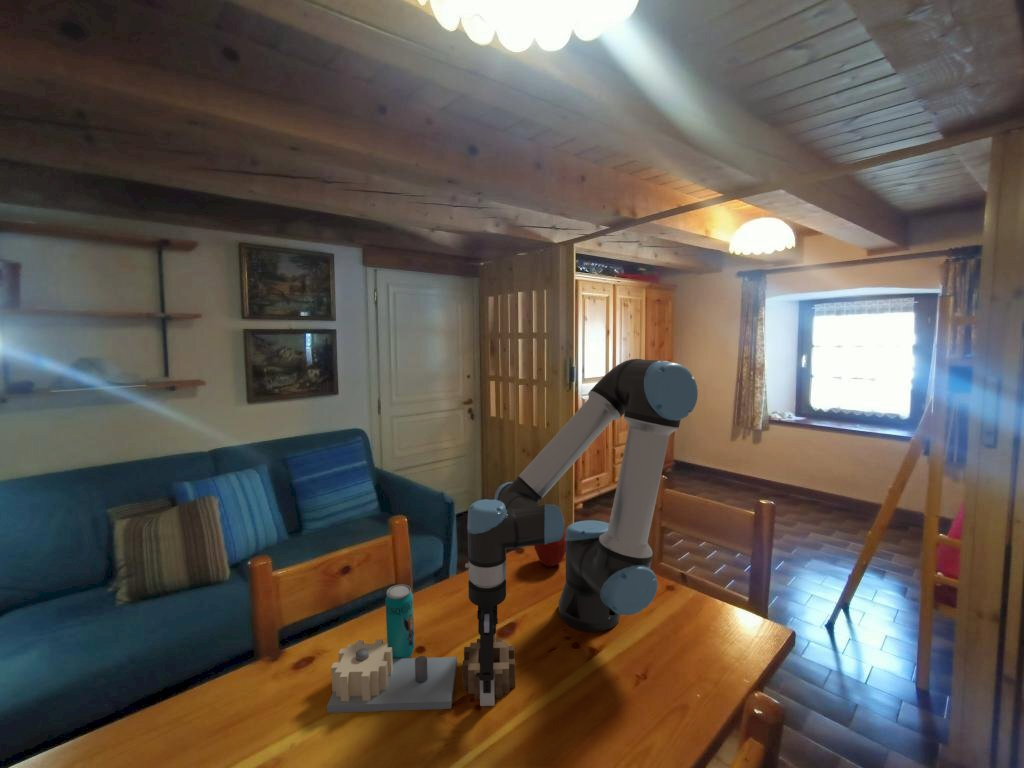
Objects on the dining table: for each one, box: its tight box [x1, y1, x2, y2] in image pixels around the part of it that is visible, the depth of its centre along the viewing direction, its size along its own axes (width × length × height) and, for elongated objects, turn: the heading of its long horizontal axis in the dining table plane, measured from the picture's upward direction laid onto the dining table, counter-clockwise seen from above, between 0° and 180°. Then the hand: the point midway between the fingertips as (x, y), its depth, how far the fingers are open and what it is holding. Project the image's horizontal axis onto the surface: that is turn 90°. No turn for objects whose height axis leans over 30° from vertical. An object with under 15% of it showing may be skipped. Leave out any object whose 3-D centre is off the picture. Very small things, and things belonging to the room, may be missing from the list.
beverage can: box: [384, 583, 415, 659], centre depth 100 cm, size 6×6×15 cm
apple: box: [534, 529, 566, 568], centre depth 140 cm, size 10×10×14 cm
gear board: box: [326, 639, 458, 714], centre depth 92 cm, size 23×12×8 cm, turn 91°
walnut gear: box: [461, 637, 516, 699], centre depth 94 cm, size 10×10×5 cm
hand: (488, 677), depth 94 cm, fingers open, 13 cm apart
